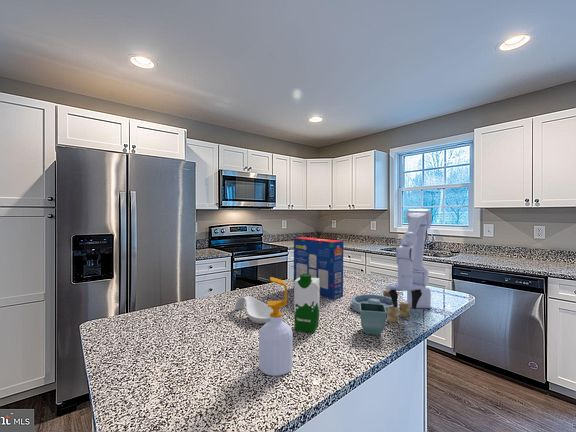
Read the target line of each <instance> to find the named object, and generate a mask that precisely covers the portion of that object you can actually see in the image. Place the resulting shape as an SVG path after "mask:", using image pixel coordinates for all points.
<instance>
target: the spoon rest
mask: <svg viewBox="0 0 576 432" xmlns="http://www.w3.org/2000/svg"><path fill="white" fill-rule="evenodd" d="M243 309H245V312H246V315H247V317H248V319H250V321H251V322H253V323H255V324H260V325H265V324H266V323H268V322H270V313H271V312H273V309H272V308H271V307H268V304H266V303H264V302H262V301H261V300H258V299H257V298H255V297H253V296H252V295H246V296H240V297H239V298H238V299H237V300H236V302H235V305H234V311H240V310H243Z"/></svg>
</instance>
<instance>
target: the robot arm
mask: <svg viewBox="0 0 576 432" xmlns="http://www.w3.org/2000/svg"><path fill="white" fill-rule="evenodd" d="M406 222H407V224H408V226H407V230H406V231H407V232H405V233H403V235H402V238H401V242H400V244H399V246H397V247H396V250H395V258H396V264H397V284H386V289H385V290H387V291H388V292H389V294H390V296H391V298H392V302H393V307H397V302H398V297H399V293H398V292H399V291H400V292H401V291H403V292H406V301H405V300H404V301H403V302H407V303H410V309H413V310H416V309H431V308H432V305H431V304H432V303H431V301H432V297H431V296H432V294H431V293H432V292H431V289H430V287H429V286H428V285H429V280H430V277H429V270H428V269H427V267H425V266H424V265H423V261H424V254H425V253H424V252H425V251H424V250H425V241H426V240H425V239H426V234H427V230H429V229H430V228H431V226H432V211H431V209H410V208H409V209H408V210H406Z"/></svg>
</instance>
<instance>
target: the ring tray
mask: <svg viewBox="0 0 576 432" xmlns="http://www.w3.org/2000/svg"><path fill="white" fill-rule="evenodd" d="M359 303H370V304H383V305H384V306H385V309H386V311H387V307H393V302H392V298H390V297H387V296H383V294H382V295H381V294H375V293H374V294H371V293H369V294H367V293H366V294H365V293H362V294H357V295H354V296H353V297H351V303H350V308H351V309H352V310H353V311H355V312H357V313H359V314H360V305H359ZM398 304H399V303H398V301H397V308H398V309H399V307H398ZM386 317H387V315H386Z"/></svg>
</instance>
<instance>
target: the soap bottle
mask: <svg viewBox="0 0 576 432" xmlns="http://www.w3.org/2000/svg"><path fill="white" fill-rule="evenodd" d="M269 281H270V282H272V283H275V284H278V285H281V286H283V287H284V297H283V299H282V300H268V301H267V305H268V307H271V308H272V309H273V312H271V313H270V322H268V323H264V324H263V325H262V326H261V328H260V330H259V332H258V336H259V337H258V341H259V342H258V347H259V348H258V360H259V361H258V367H259V371H261V372H262V374H265V375H268V376H273V377H279V376H284V375H286V374H287V373H290V372H291V370H292V368H293V342H294V341H293V330H292V327H291V326H290V325H289V324H288V323H286V322H285V321H283V313H282V312H281V311H280V309H282V308H283V307H286V306H287V303H288V288H287V287H288V286H287V284H286V282H285V281H284V280H283V279H279V278H276V277H272V276H270V277H269Z"/></svg>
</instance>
